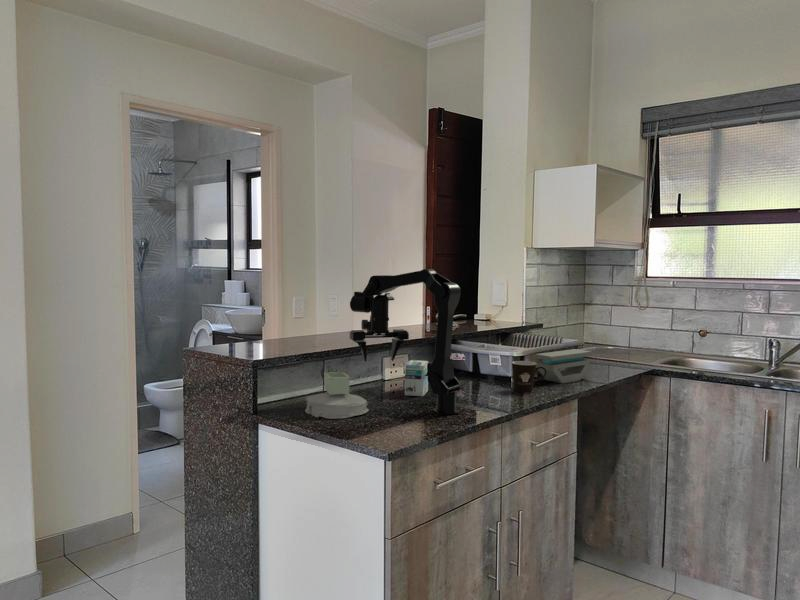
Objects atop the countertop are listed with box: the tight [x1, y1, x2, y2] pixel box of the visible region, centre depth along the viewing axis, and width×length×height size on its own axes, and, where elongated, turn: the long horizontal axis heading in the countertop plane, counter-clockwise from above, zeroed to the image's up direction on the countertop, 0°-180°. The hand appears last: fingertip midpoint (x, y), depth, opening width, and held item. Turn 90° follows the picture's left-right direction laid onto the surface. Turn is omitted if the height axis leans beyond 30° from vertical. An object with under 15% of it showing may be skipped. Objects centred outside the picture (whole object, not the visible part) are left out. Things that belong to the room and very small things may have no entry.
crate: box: [323, 371, 351, 395], centre depth 191 cm, size 9×6×5 cm, turn 17°
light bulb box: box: [404, 359, 429, 397], centre depth 217 cm, size 11×7×11 cm, turn 168°
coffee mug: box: [511, 360, 546, 393], centre depth 224 cm, size 12×9×10 cm
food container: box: [304, 392, 370, 420], centre depth 191 cm, size 20×20×7 cm
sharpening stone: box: [534, 348, 593, 384], centre depth 245 cm, size 25×8×11 cm, turn 128°
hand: (378, 361), depth 205 cm, fingers open, 9 cm apart
